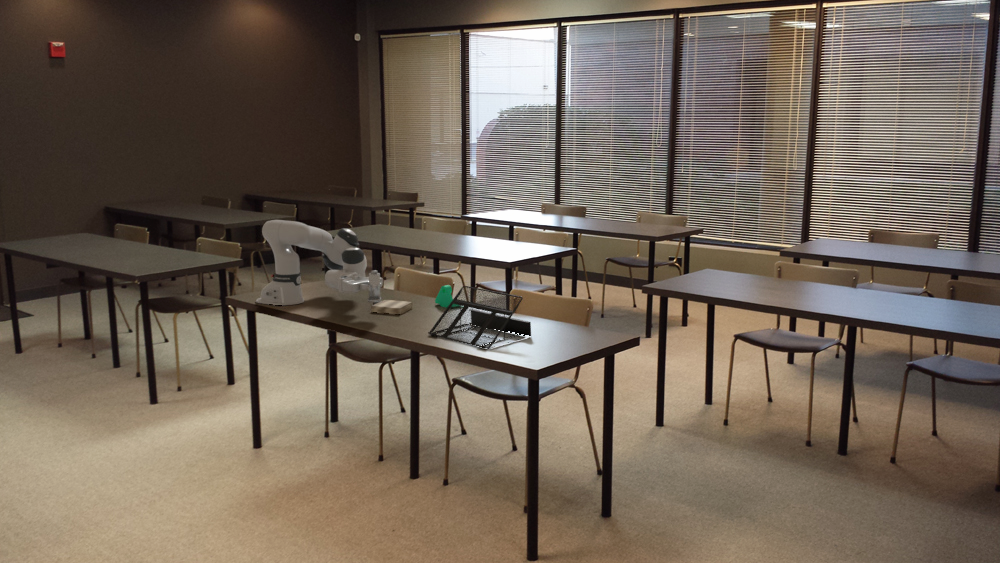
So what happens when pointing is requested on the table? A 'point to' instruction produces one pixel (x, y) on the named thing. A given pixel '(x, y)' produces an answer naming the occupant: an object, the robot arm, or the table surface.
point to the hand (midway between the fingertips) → (375, 286)
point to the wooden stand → (391, 307)
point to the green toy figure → (445, 296)
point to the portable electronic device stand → (482, 318)
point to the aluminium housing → (374, 287)
